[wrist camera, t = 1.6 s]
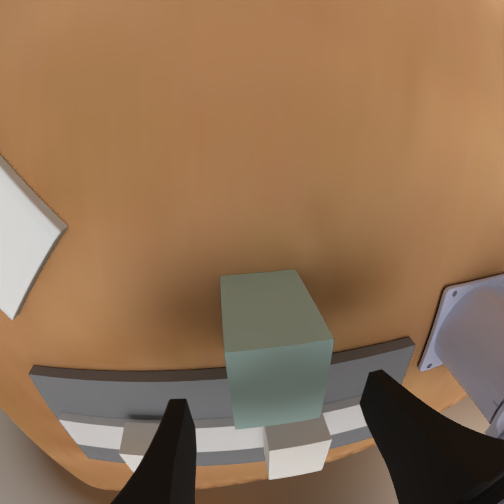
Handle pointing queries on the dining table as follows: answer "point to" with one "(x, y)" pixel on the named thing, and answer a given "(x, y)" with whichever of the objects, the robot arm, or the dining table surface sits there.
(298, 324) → the block
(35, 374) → the rail board
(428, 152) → the dining table surface
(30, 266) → the external hard drive
